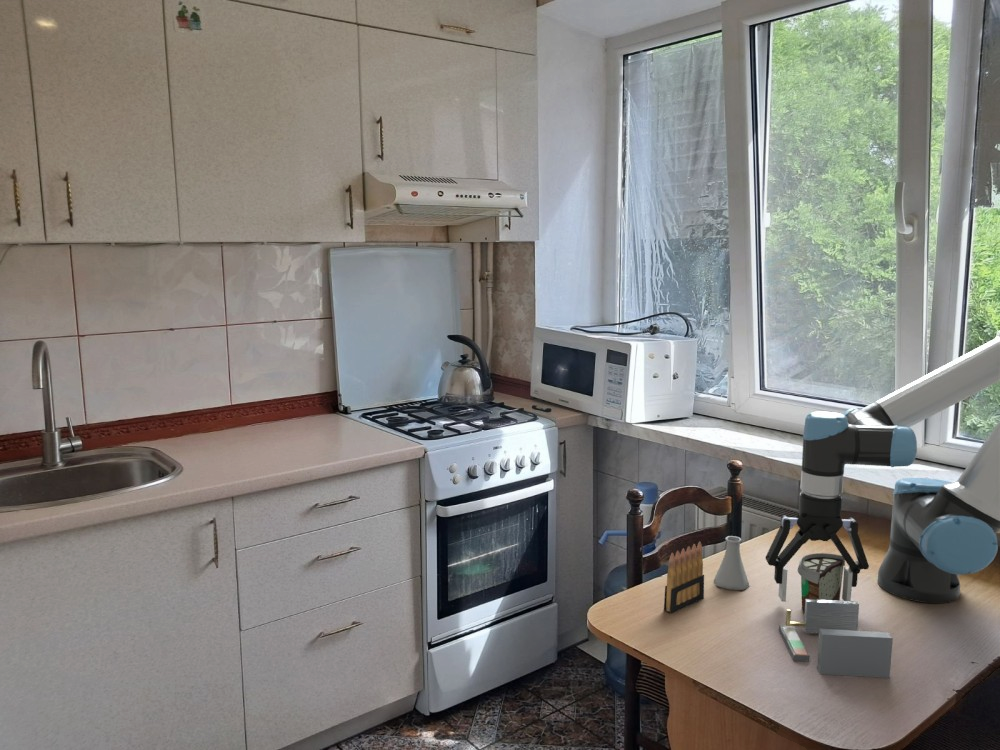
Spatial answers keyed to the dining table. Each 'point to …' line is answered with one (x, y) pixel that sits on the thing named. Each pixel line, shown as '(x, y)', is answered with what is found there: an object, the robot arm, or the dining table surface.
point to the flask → (732, 567)
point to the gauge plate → (827, 615)
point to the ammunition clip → (684, 579)
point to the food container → (821, 576)
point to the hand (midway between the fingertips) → (813, 600)
